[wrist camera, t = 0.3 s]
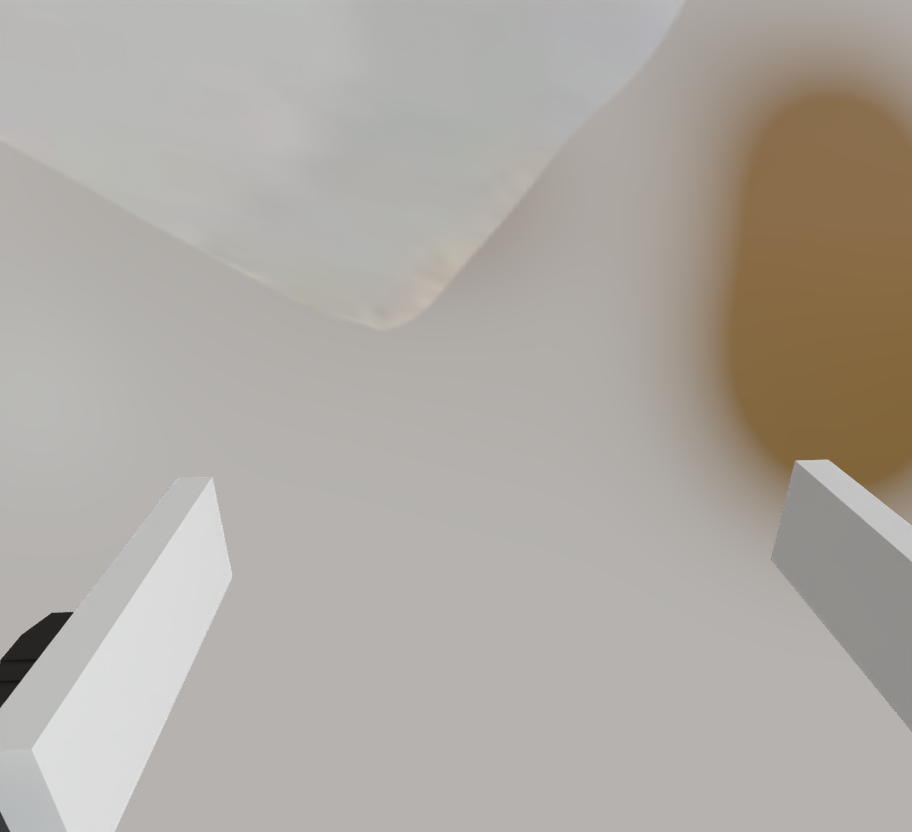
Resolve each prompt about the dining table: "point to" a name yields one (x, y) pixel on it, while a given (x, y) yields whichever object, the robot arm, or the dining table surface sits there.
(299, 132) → the dining table surface
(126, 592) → the robot arm
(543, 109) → the dining table surface
